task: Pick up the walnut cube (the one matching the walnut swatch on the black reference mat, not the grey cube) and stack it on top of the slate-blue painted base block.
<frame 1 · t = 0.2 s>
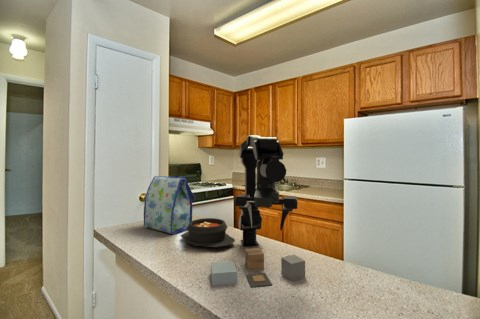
hand: (265, 229, 75), 13 cm above the countertop, fingers open, 9 cm apart
reference mat: (258, 280, 71), on the countertop
grey cube: (293, 275, 74), on the countertop
base block: (223, 278, 72), on the countertop
lunch bag: (169, 228, 123), on the countertop
walnut cube: (254, 266, 80), on the countertop
casserole: (207, 242, 103), on the countertop
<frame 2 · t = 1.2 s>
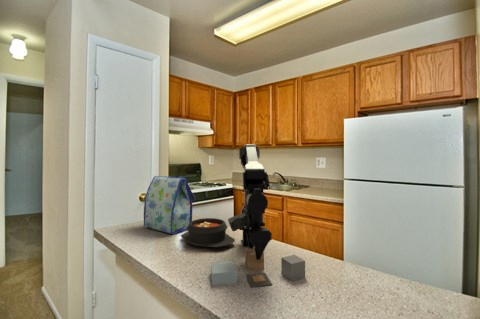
hand: (254, 253, 80), 4 cm above the countertop, fingers open, 9 cm apart
nothing on the countertop moved.
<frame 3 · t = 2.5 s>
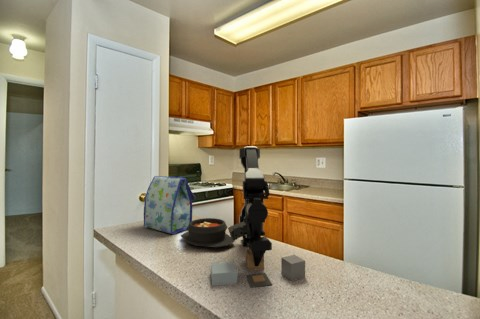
hand: (254, 262, 80), 1 cm above the countertop, fingers closed on walnut cube, 5 cm apart
walnut cube: (254, 266, 80), on the countertop, touching gripper
everything else where it was.
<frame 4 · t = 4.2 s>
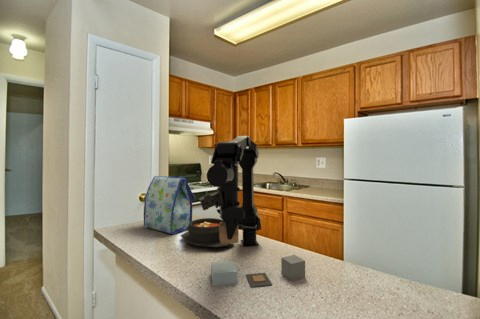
hand: (228, 236, 73), 12 cm above the countertop, fingers closed on walnut cube, 5 cm apart
walnut cube: (228, 240, 73), point 11 cm above the countertop, touching gripper
everything else where it was.
when the fingers open (6 cm above the countertop, at t = 6.1 s): walnut cube drops 1 cm, point 3 cm above the countertop.
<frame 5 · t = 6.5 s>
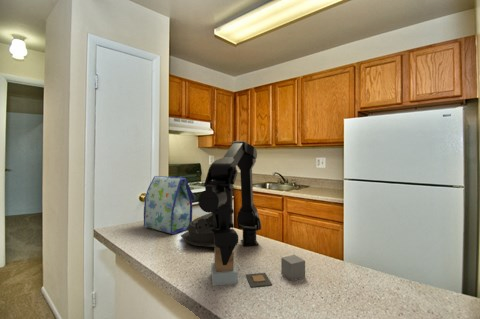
hand: (222, 258, 72), 6 cm above the countertop, fingers open, 9 cm apart
walnut cube: (223, 267, 72), point 3 cm above the countertop
everything else where it was.
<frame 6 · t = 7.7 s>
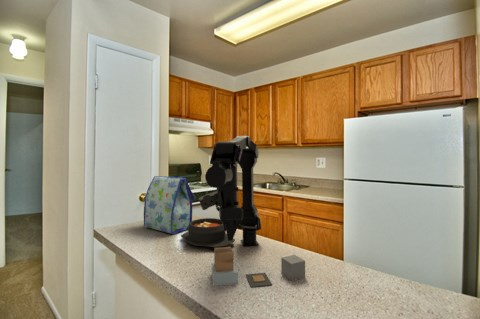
hand: (227, 235, 74), 12 cm above the countertop, fingers open, 9 cm apart
base block: (224, 279, 72), on the countertop, touching walnut cube
walnut cube: (223, 267, 72), point 3 cm above the countertop, touching base block
everything else where it was.
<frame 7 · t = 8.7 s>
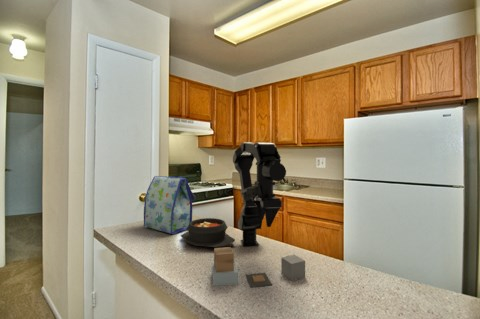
hand: (264, 223, 86), 12 cm above the countertop, fingers open, 9 cm apart
nothing on the countertop moved.
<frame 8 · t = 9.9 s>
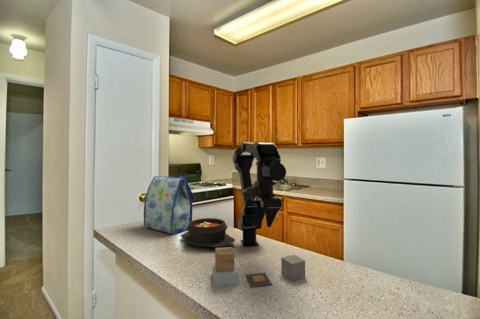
hand: (265, 223, 86), 13 cm above the countertop, fingers open, 9 cm apart
base block: (225, 279, 72), on the countertop
walnut cube: (224, 267, 72), point 3 cm above the countertop
everything else where it was.
at the end: walnut cube 0.1 cm off-centre on the base block, point 3.5 cm above the base block's base; walnut cube tilted 0°; the gripper is holding nothing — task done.
